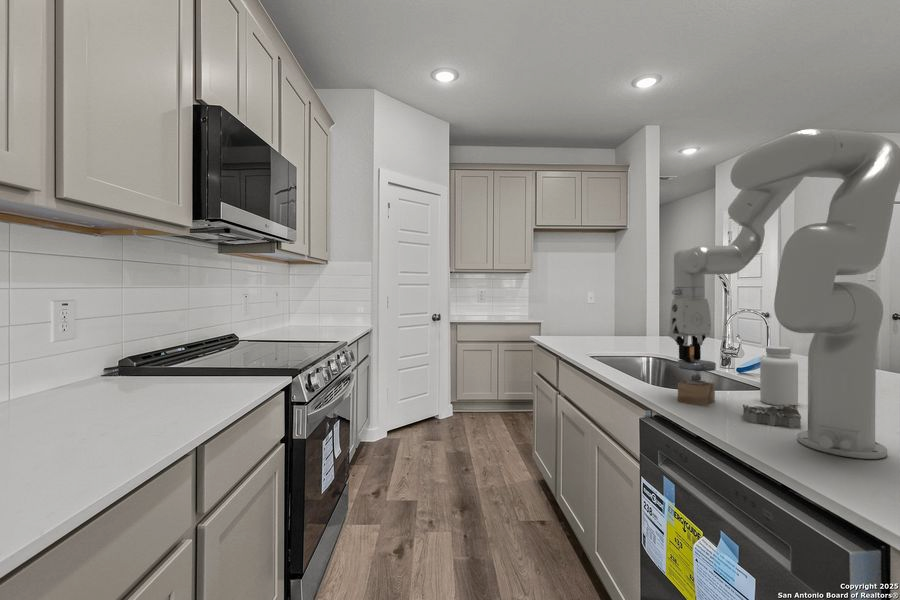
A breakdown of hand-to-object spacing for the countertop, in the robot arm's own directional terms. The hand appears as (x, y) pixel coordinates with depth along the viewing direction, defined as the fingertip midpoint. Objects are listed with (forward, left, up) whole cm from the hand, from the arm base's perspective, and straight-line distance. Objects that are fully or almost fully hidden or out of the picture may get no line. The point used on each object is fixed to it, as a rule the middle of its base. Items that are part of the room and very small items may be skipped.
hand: (689, 358), depth 118 cm
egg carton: (-10, -20, -12) cm, 25 cm away
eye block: (-2, -2, -11) cm, 12 cm away
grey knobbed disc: (-2, -2, -5) cm, 6 cm away
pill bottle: (+11, -18, -11) cm, 24 cm away
